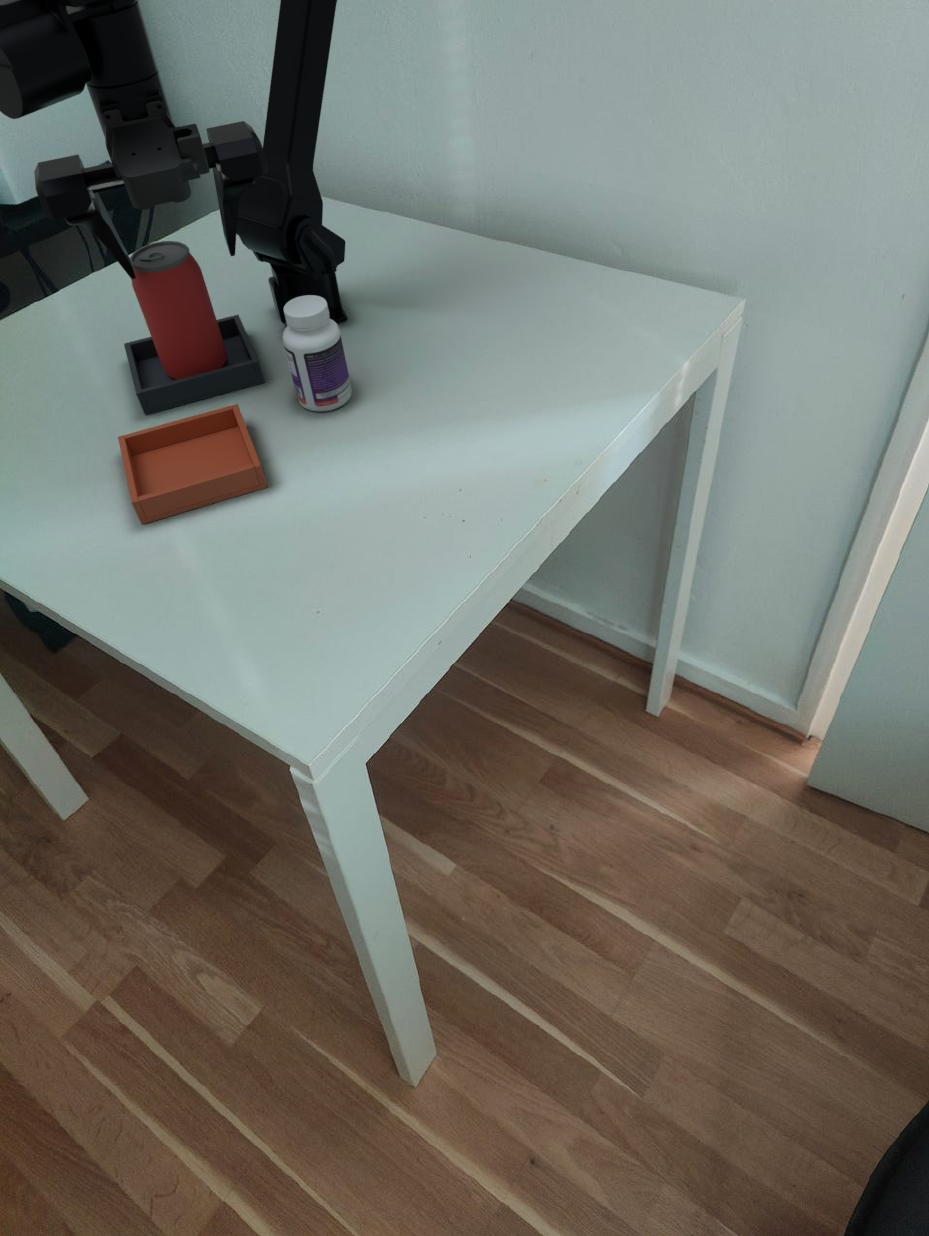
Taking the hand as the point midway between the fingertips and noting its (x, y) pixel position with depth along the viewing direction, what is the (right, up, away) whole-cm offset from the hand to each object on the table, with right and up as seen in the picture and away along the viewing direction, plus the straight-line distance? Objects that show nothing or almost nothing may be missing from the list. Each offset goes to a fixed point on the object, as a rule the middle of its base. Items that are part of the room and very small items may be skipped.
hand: (183, 265), depth 80 cm
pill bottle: (+12, -11, +5) cm, 17 cm away
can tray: (-2, -7, +10) cm, 12 cm away
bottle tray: (+2, -19, -1) cm, 19 cm away
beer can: (-2, -7, +10) cm, 12 cm away
